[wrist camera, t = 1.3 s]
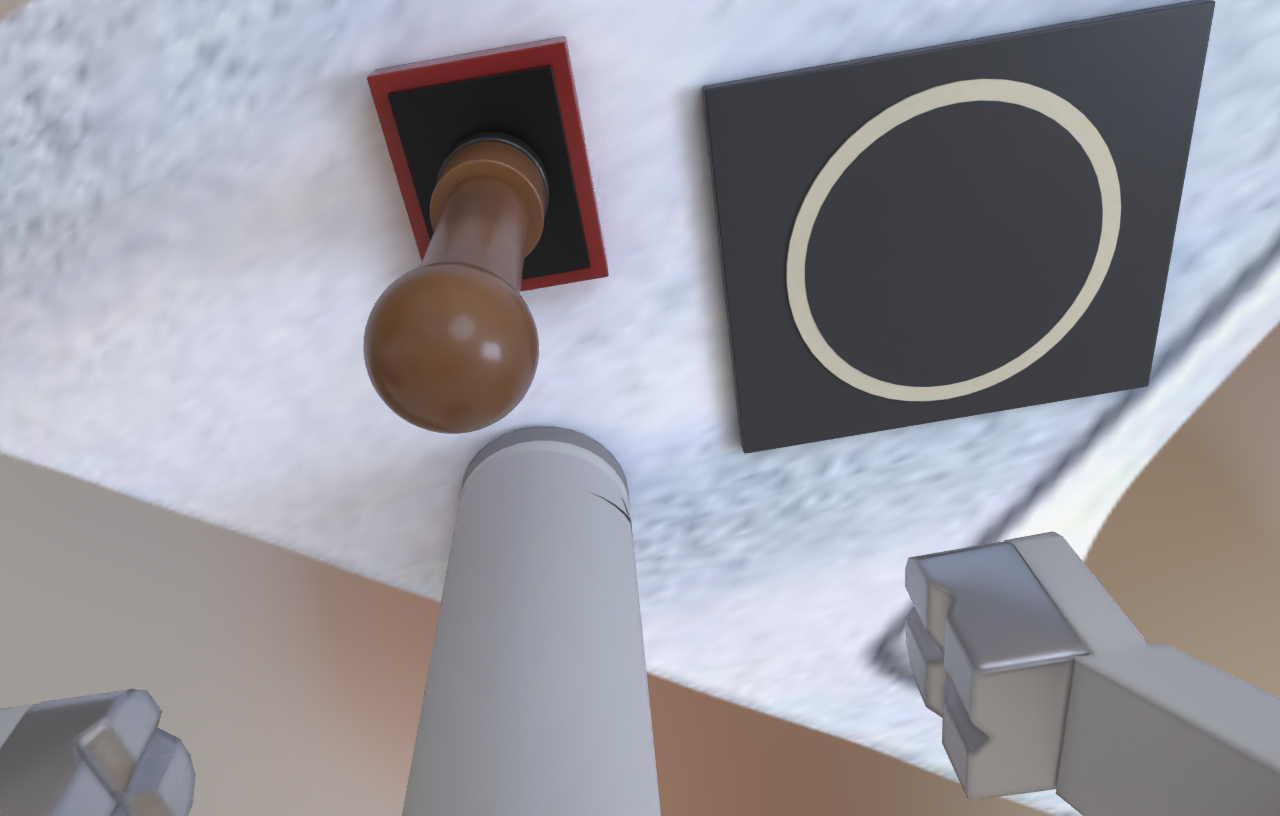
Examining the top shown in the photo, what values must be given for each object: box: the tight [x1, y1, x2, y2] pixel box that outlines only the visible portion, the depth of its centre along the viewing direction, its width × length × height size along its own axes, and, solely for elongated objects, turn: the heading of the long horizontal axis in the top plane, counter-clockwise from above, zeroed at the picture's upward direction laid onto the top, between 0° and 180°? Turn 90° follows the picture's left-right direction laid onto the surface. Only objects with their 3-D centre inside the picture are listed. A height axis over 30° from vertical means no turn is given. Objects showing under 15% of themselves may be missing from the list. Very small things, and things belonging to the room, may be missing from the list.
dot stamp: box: [364, 131, 550, 434], centre depth 20 cm, size 3×3×12 cm
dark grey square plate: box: [702, 0, 1215, 453], centre depth 29 cm, size 13×15×1 cm
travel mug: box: [402, 427, 661, 816], centre depth 24 cm, size 6×7×20 cm
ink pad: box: [367, 36, 609, 291], centre depth 26 cm, size 7×6×2 cm
